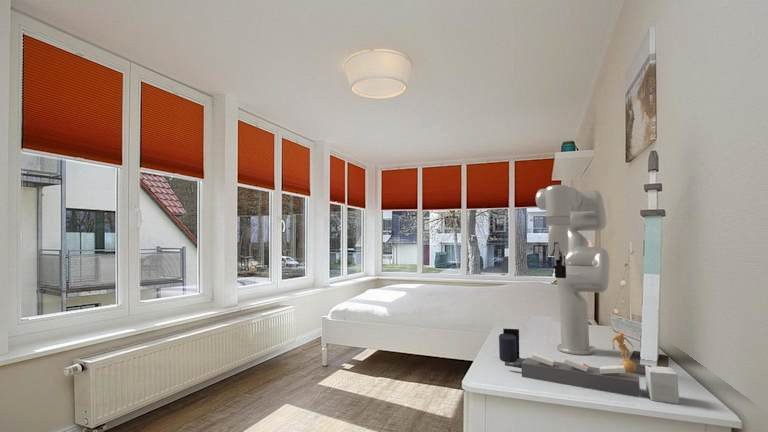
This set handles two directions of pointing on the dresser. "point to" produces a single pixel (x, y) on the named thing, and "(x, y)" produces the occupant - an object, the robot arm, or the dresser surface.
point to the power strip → (580, 377)
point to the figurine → (627, 363)
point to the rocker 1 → (543, 359)
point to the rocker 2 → (576, 364)
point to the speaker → (509, 345)
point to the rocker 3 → (612, 369)
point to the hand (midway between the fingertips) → (560, 277)
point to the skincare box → (662, 384)
